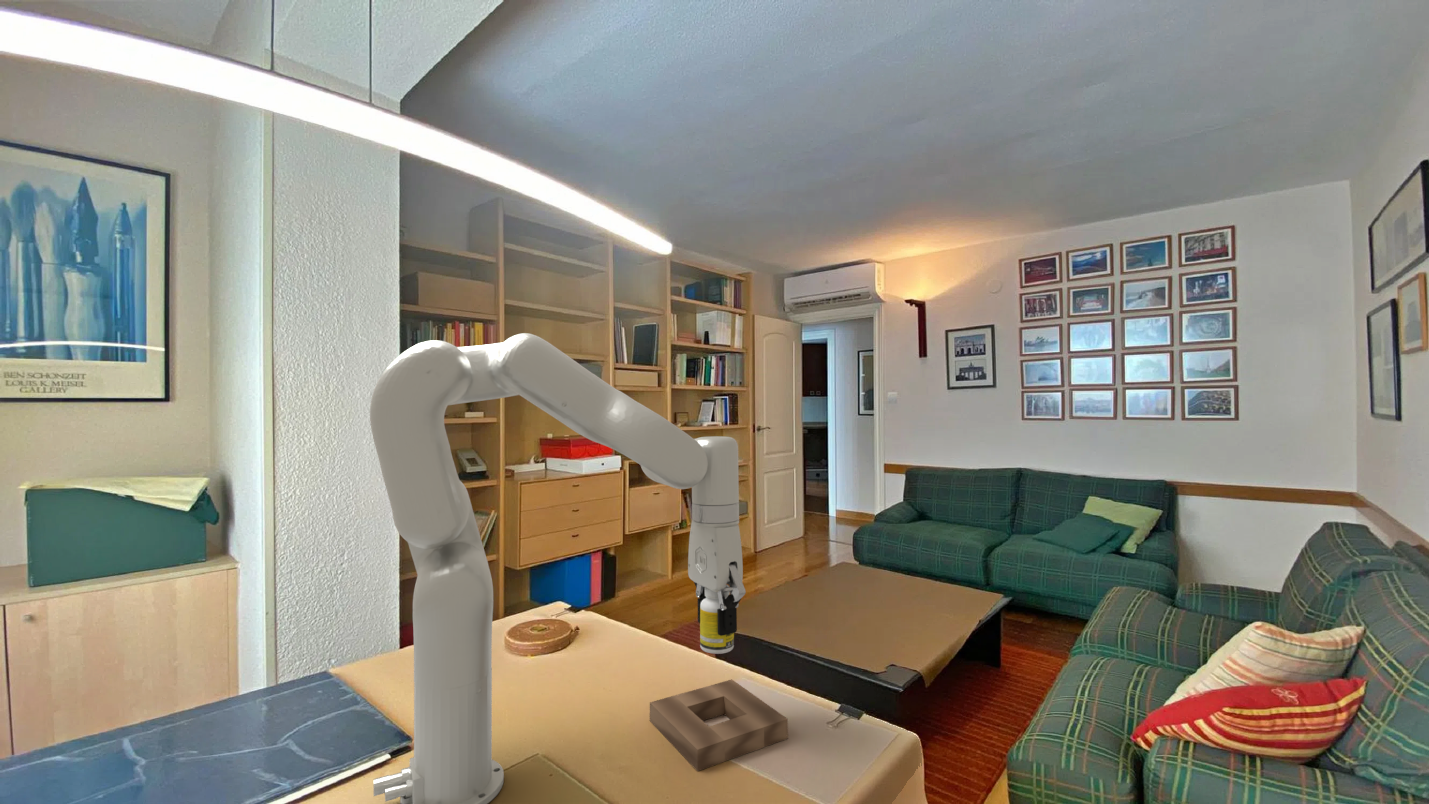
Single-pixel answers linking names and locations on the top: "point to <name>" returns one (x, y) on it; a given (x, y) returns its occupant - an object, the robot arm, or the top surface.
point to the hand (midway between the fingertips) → (716, 626)
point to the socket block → (724, 740)
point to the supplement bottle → (713, 625)
